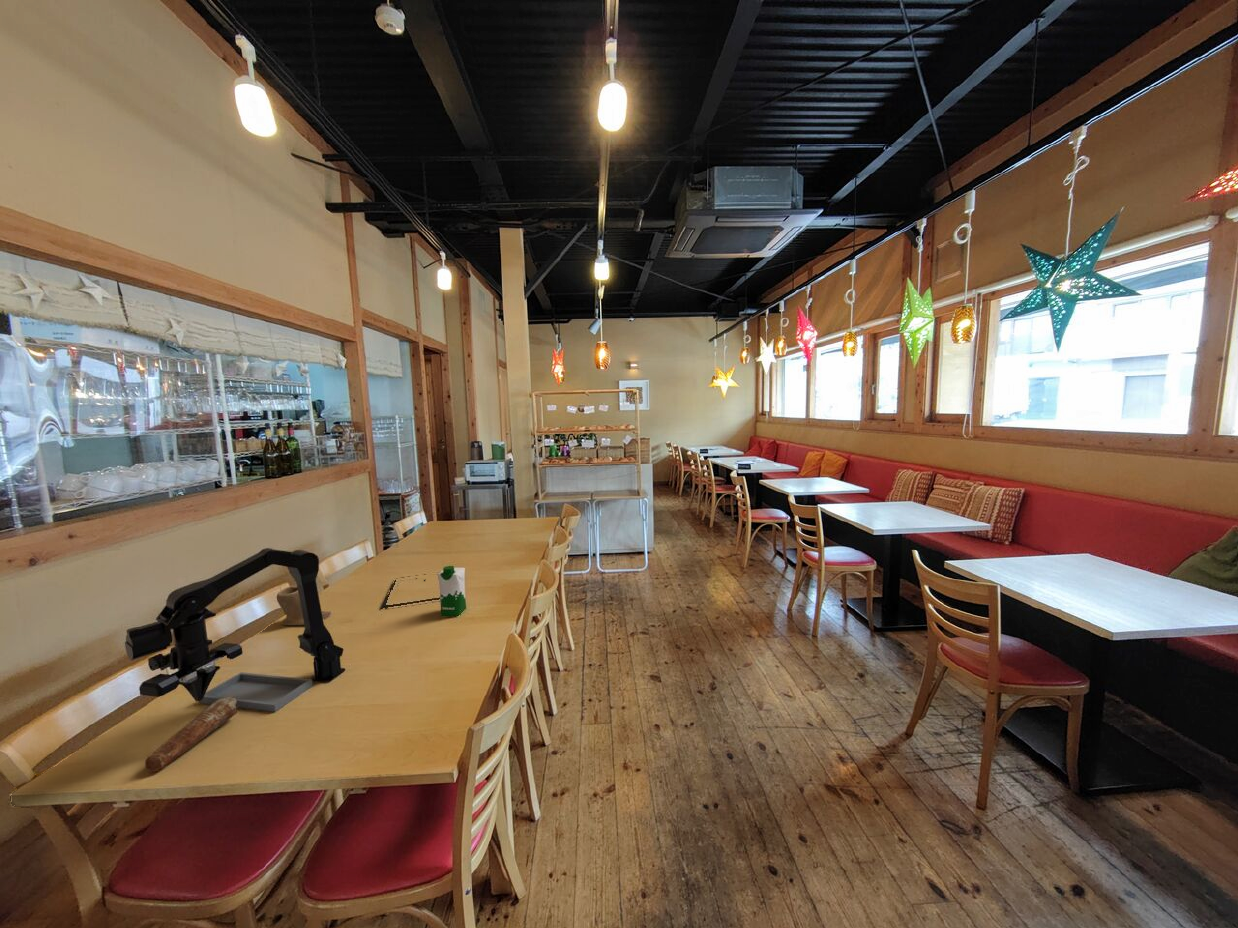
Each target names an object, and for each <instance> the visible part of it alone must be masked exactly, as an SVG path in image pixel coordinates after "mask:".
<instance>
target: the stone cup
mask: <svg viewBox="0 0 1238 928" xmlns="http://www.w3.org/2000/svg"><path fill="white" fill-rule="evenodd" d="M276 602H277V603H278V605H279V607H280V608H281V609H282V611H283V612H284V613H285V616H286V617H285V618H284V619H282V621H281V625H283V626H305V625H304V620H303V614H302V609H301V604H300V599H299V593H298V588H297V584H293V585H290V586H287V587H285V588H283V589H282V590H280V591H279V592H278V593H277V594H276ZM321 611H322V610H321ZM331 614H332V611H322V617H323V619H324V620H326V619H327V618H328V617H330V616H331Z"/></svg>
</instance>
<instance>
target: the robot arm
mask: <svg viewBox="0 0 1238 928" xmlns="http://www.w3.org/2000/svg"><path fill="white" fill-rule="evenodd" d="M273 565H274V566H275V565H276V566H282V567H285V568H287V570H288V572H289V573H290V576H291V577H292V579H294V582H295V583H296V585H297V588H298V593H299V599H300V604H301V609H302V614H303V620H304V625H303V626H304V630H303V632H302V634H299V635H297V639H298V642H299V649H301V650H302V651H303V652H305V653H306V654H309V655H310V656H311V657H313V673H314V676H312V677H311V678H310V679H312V681H318V682H326V683H327V682H328V683H329V682H332V681H333V680H334V679H335V678H337V677H338V676H340V675H341V674H342V673H343V672H345V671H346V668H345V667H342V666H341V665H342V664H341V657H342V656H343V655H344V654H343V652H344V648H343V647H340V646H339V645H337V644H335V643H334V640H333V637H332V635H331V633H330V631H329V630H328V628H327V627H326V625H325V622H324V620H323V617H322V607H321V602H320V596H319V591H318V585H317V577H318V575H319V572H320V571H319V570H320V559H319V556H318V555H317V554H316V553H313V552H310V551H307V550H303V549H296V550H294V551H287V550H286V551H285V550H280V549H279V550H278V549H274V548H270V547H266V548H262V549H261V550H259V552H257V553H255V554H253V555H251V556H249V557H248V558H246V559H244V560H242V561H240V562H239V563H235V564H234V565H232V566H231V567H229V568H227V569H225V570H223V571H221V572H218V573H217V574H215V575H213V576H211V577H210V578H207V579H204V580H200V581H196V582H192V583H189V584H188V585H185V586H182V587H181V586H180V587H179V588H177V589H175V590H173V591H171V592H170V593H169V594H168V595H167V598H166V601H165V602H166V603H165V606H164V607H162V610H161V611H160V612H159V614H158V615H157V616H156V618H155V622H152V623H148V624H145V625H142V626H136V627H135V626H134V627H131V628H128V629H126V636H125V641H124V648H125V651H126V655H127V657H128V658H129V661H135V660H136V659H140V658H143V657H146V656H150V655H151V654H155V653H158V652H161V651H164V650H167V649H168V647H170V646H171V644H172V643H173V640H174V646H173V647H170V650H169V651H170V652H168V653H166V654H162V653H158V654H155V655H153V656H151V657H148V659H147V661H148V662H147V663H148V668H149V670H150V671H152V672H153V671H156V670H159V669H160V671H161V672H162V671H164V670H166V669H168V668H169V670H173V671H174V670H176V669H177V671H175V672H172V673H171V674H168V673H166V674H165V673H159V674H156V675H154V676H152V677H150V678H148V679H147V680H144V681H143V682H141V684H140V685H139V688H138V689H139V695H140V696H147V697H157V698H160V697H163V696H166V695H167V694H169V693H171V692H173V691H175V690H176V689H177V688H178V687H179V685H181V686H183V687H184V688H185V690H187V692H188V693H189V694H190V695H191V697H192V698H193V699H194V701H195V702H199V701H201V700H202V699H203V697H204V695H205V693H206V692H207V691H208V689H209V687H210V684H211V682H212V681H213V678H214V677H215V675H216V673H217V671H219V670H220V669H221V666H220V665H218V666H217V665H216V662H217V661H219V660H221V659H223V658H225V657H226V659H228V660H234V659H235V658H238V657H240V656H241V655H243V654H244V653H243V646H242V645H240V644H239V643H230V642H224V643H222V644H219V645H217V646H215V647H212V648H210V647H209V646H211V645H213V640H212V639H209V638H208V632H207V623H206V619H207V620H208V619H210V618H213V617H215V616H217V613H216V612H214V611H212V610H211V609H210V610H209V609H208V608H207V607H208V606H210V605H211V604H212V603H213V602H214V601H215V600H216V599H217V598H218V597H219V596H220V595H221V594H223V593H224V592H226V591H228V590H229V589H231V588H233V587H234V586H236V585H238V584H239V583H242V582H243V581H245V580H247V579H249V578H250V577H252V576H254V575H256V574H258V573H259V572H261V571H263V570H265V569H267V568H268V567H271V566H273ZM172 633H173V634H172Z"/></svg>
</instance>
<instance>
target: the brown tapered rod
mask: <svg viewBox="0 0 1238 928" xmlns="http://www.w3.org/2000/svg"><path fill="white" fill-rule="evenodd" d="M236 704H237V699H236V698H232V697H225V698H222V699H218V700H217V701H215V702H214V703H213V704H211V705H209V706H207V708H205V709H204V710H203V711H201V712H200V713H199V714H197V715H196V716H195V718H193V719H192V720H191V721H189V722H188V723H186V724H185V725H184V726H183V727H182V728H180V729H179V730H178V731H177V732H176V733H174V734H173V735H172V736H171V737H169V738H168V740H166V741H165V742H164V743H163V744H161V745H160V746H159V747H158V748H157V749H155V751H153V752H152V753H151V754H150V755H149V756H148V757H147V758H146V759H145V762H144V766H145V769H146V770H147V771H149V772H151V773H153V772H159V771H161V770H162V769H163V768H165V767H166V766H168V765H169V764H170V763H171V762H173V761H174V760H176V759H178V757H179V756H182V755H183V754H184V753H186V752H187V751H188V750H190V749H191V748H192V747H193V746H195V745H196V744H197V743H199V742H201V740H203V739H204V738H205V737H207V736H208V735H209V734H211V733H212V732H214V731H215V730H216V729H218V728H219V727H221V726H222V725H223V724H225V723H226V722H228V721H229V720H230V719H231V718H233V717H234V716H235V715H236V714H237V713H238V710H239V708H237V706H236Z"/></svg>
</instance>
